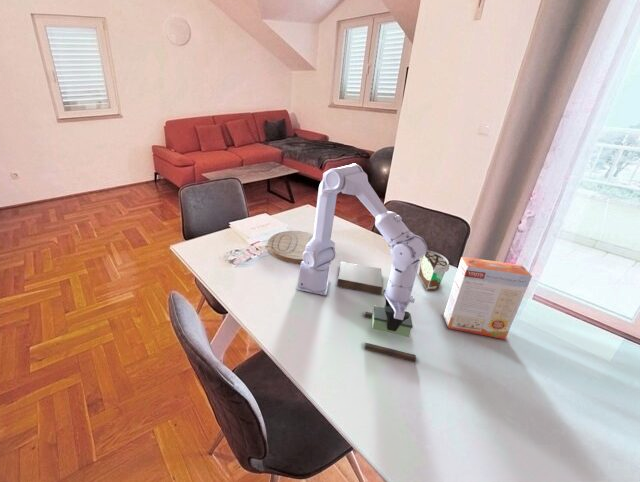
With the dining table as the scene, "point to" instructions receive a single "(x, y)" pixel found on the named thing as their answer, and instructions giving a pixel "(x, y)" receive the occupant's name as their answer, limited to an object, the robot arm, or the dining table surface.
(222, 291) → the dining table surface
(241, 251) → the dining table surface
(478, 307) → the cracker box
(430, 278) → the food container
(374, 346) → the bay rails
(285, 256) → the trivet
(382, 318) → the box
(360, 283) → the white-topped slab
